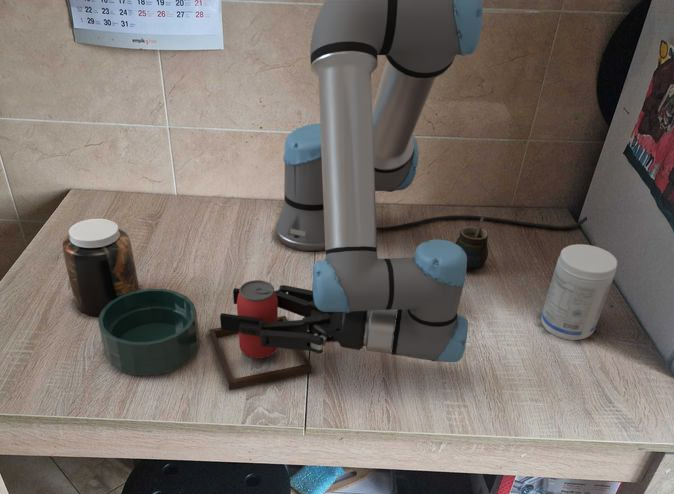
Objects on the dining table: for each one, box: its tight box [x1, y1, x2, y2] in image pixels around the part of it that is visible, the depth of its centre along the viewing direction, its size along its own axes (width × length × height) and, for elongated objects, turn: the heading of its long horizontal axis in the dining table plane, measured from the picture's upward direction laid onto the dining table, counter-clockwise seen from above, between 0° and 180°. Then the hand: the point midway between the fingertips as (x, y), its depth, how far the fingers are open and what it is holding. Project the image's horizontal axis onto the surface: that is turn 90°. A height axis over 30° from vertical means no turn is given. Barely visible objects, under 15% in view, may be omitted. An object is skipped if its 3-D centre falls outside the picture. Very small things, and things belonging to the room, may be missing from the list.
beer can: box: [236, 279, 279, 359], centre depth 107 cm, size 7×7×12 cm
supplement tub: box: [540, 243, 618, 341], centre depth 114 cm, size 10×10×15 cm
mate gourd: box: [454, 215, 489, 273], centre depth 132 cm, size 7×8×10 cm
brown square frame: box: [208, 315, 313, 391], centre depth 111 cm, size 14×15×2 cm
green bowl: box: [97, 288, 201, 376], centre depth 109 cm, size 16×16×7 cm
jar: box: [62, 218, 140, 318], centre depth 118 cm, size 12×12×15 cm
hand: (228, 308), depth 106 cm, fingers closed on beer can, 7 cm apart
